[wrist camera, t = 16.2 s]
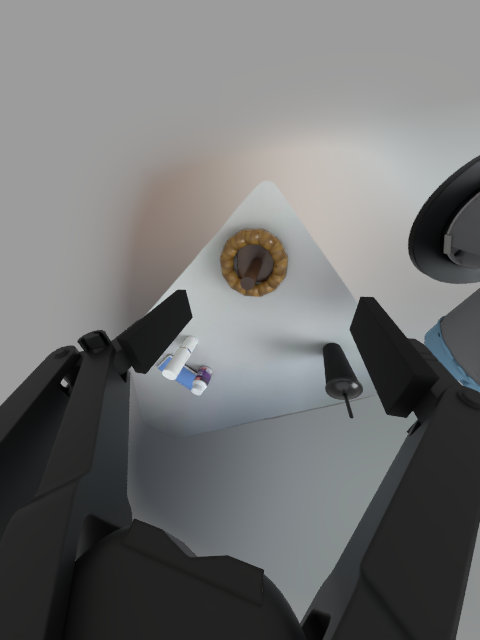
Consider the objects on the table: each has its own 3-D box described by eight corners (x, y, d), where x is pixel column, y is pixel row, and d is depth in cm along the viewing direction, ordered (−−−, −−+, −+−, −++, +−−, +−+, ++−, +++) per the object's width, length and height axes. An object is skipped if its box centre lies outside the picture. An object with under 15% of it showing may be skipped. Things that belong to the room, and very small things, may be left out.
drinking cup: (351, 342, 49) (382, 413, 33) (339, 361, 54) (361, 431, 38) (323, 336, 50) (340, 402, 34) (313, 355, 55) (324, 420, 39)
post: (278, 240, 39) (274, 258, 28) (275, 280, 44) (271, 307, 33) (238, 241, 41) (220, 257, 30) (239, 278, 46) (225, 304, 35)
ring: (291, 227, 36) (291, 229, 33) (283, 294, 44) (283, 300, 42) (219, 228, 39) (215, 230, 36) (225, 291, 47) (222, 296, 45)
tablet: (209, 380, 74) (208, 383, 73) (194, 390, 81) (192, 392, 80) (170, 353, 69) (169, 355, 68) (158, 365, 76) (156, 368, 75)
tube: (185, 341, 64) (161, 375, 52) (187, 334, 62) (163, 367, 49) (195, 347, 64) (174, 381, 52) (199, 339, 62) (177, 374, 50)
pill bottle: (205, 363, 69) (194, 385, 61) (215, 371, 70) (206, 394, 62) (197, 368, 71) (186, 390, 64) (207, 376, 73) (197, 398, 65)
